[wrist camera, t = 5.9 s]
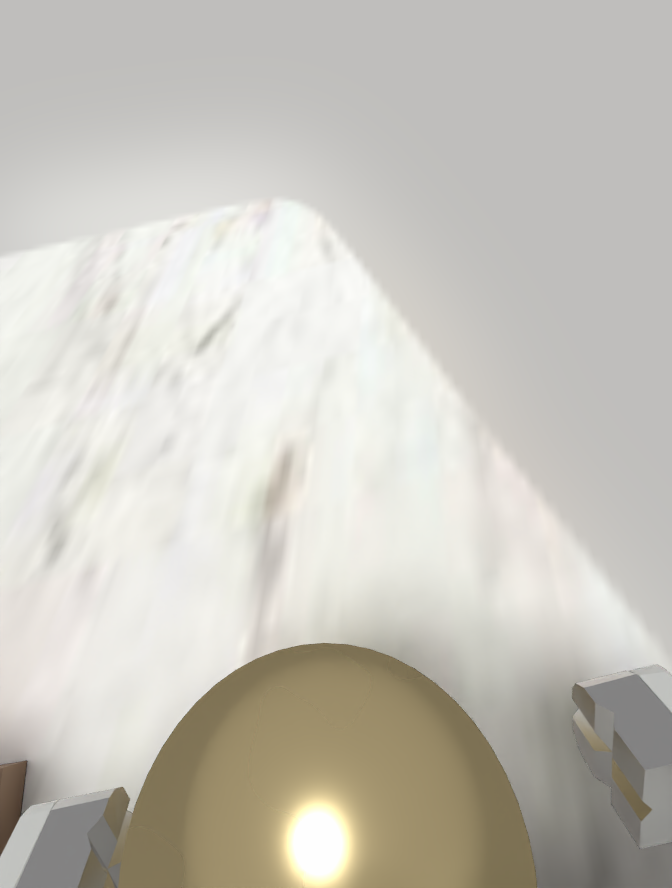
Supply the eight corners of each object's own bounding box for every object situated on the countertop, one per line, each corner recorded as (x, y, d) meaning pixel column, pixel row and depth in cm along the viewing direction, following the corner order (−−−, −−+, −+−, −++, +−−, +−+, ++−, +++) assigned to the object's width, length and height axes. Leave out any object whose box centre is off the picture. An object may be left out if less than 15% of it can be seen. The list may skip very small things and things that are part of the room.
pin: (432, 802, 13) (610, 1159, 4) (288, 825, 13) (99, 1246, 4) (403, 645, 14) (473, 618, 5) (275, 665, 14) (128, 672, 5)
